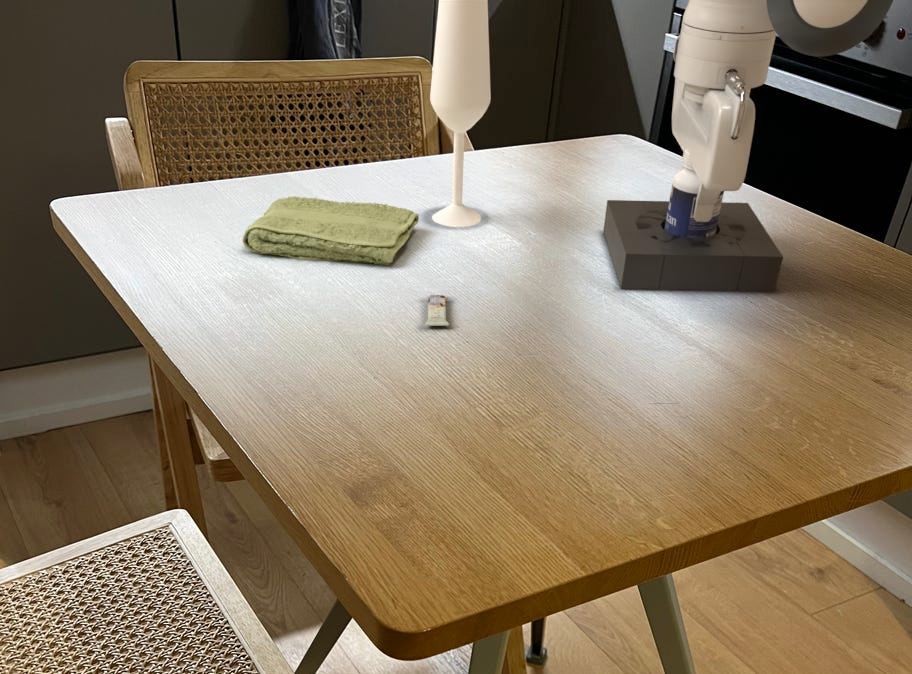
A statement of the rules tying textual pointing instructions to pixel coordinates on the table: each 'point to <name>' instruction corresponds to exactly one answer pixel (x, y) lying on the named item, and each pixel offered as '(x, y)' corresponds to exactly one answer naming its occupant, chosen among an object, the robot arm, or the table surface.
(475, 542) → the table surface
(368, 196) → the table surface
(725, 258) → the block
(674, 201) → the pill bottle
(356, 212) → the washcloth
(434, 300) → the granola bar
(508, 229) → the table surface
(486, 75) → the champagne flute
